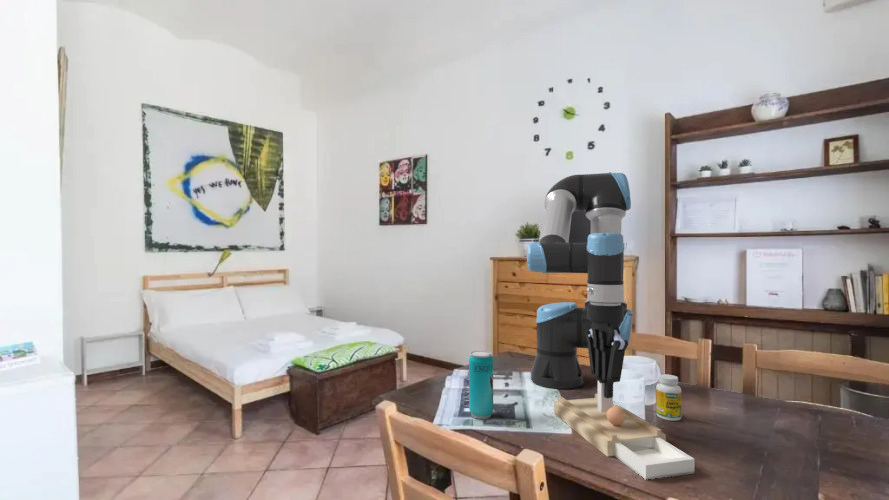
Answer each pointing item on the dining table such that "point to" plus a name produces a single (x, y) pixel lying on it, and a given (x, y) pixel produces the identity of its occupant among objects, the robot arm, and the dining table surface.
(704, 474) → the dining table surface
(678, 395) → the supplement bottle
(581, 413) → the chute
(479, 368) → the beverage can
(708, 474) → the dining table surface
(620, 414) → the ball
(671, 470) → the dish
